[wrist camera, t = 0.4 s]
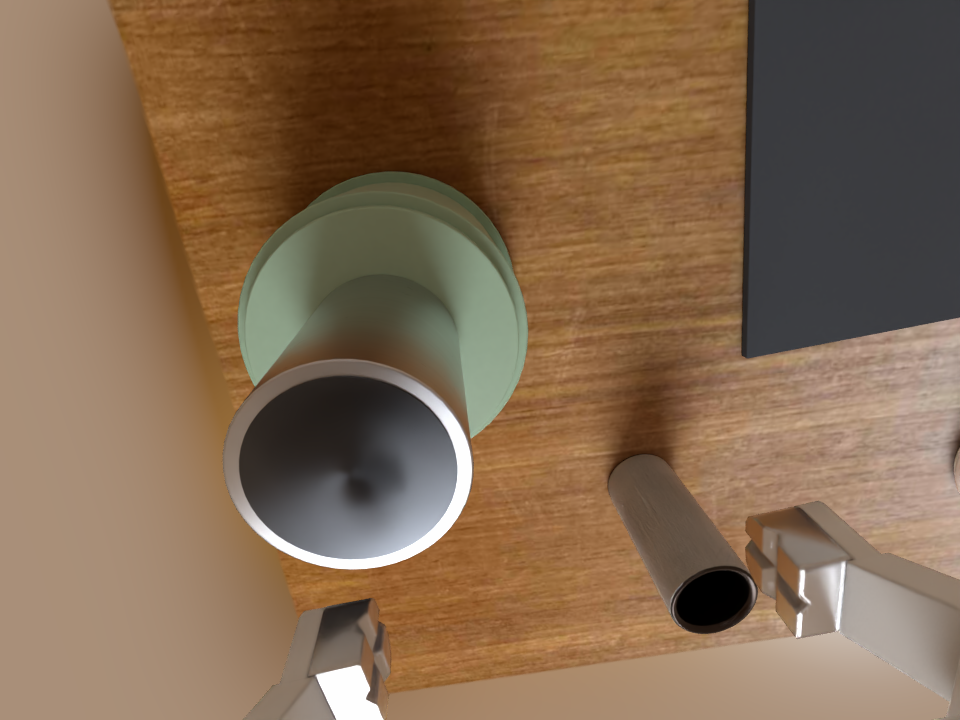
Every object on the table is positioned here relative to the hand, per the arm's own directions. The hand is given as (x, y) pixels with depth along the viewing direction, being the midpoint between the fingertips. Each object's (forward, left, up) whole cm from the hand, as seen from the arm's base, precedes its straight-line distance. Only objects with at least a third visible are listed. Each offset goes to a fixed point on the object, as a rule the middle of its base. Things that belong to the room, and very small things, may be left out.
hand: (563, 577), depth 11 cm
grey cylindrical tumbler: (+14, +9, -21) cm, 26 cm away
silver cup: (-2, -4, -11) cm, 12 cm away
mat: (-4, +23, -20) cm, 31 cm away
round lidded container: (-2, -4, -20) cm, 21 cm away
